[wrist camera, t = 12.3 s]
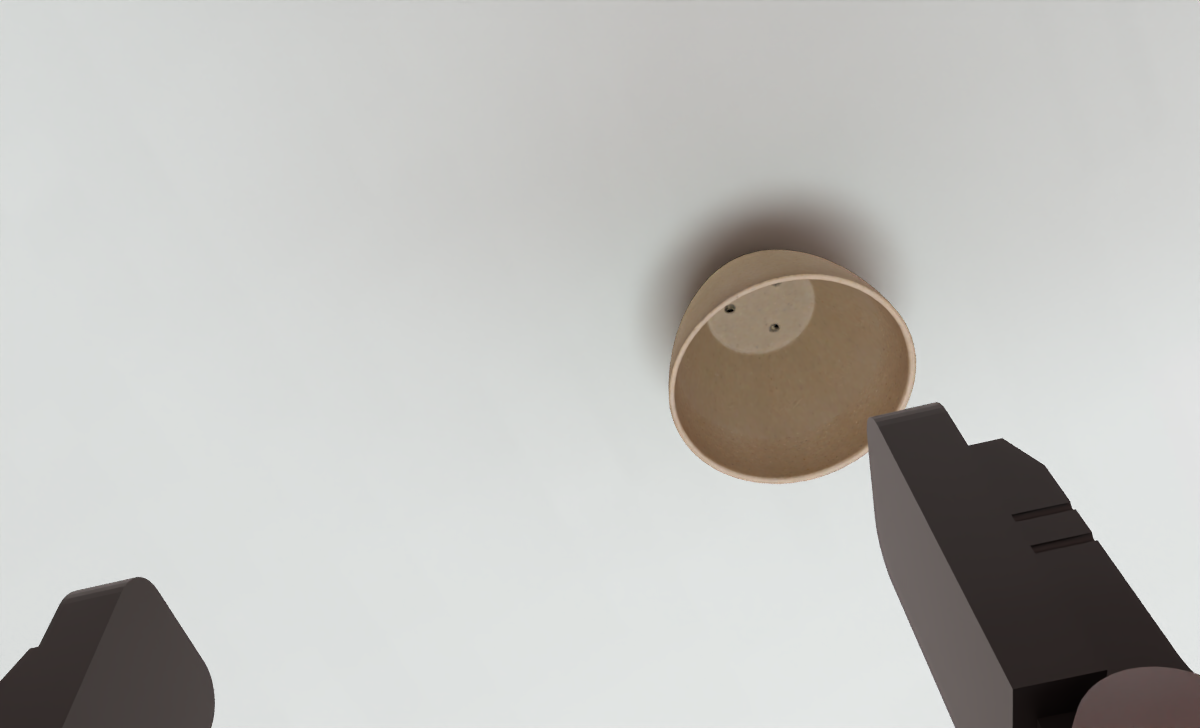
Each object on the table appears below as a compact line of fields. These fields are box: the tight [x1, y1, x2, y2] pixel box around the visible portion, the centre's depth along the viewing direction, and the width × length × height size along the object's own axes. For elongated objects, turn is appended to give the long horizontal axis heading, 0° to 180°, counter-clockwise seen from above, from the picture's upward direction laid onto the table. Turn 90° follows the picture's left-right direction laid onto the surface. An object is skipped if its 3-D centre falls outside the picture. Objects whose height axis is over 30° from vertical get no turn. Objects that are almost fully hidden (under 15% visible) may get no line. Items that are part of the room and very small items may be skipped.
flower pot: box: [669, 250, 916, 484], centre depth 44 cm, size 10×10×7 cm
